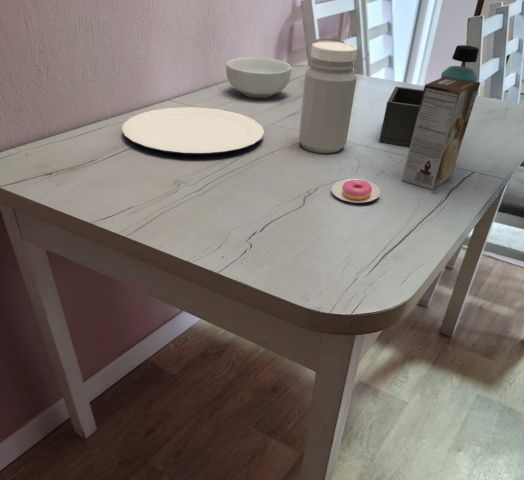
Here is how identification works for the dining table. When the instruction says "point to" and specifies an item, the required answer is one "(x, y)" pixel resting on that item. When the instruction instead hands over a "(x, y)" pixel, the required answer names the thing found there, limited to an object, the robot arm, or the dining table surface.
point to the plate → (193, 130)
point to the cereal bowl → (258, 76)
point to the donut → (356, 190)
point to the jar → (328, 97)
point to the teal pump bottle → (463, 55)
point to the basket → (401, 116)
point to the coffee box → (439, 131)
